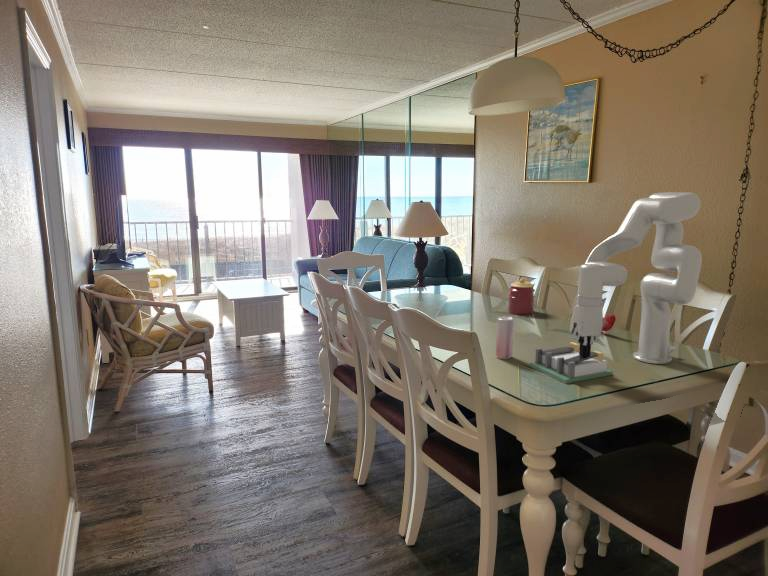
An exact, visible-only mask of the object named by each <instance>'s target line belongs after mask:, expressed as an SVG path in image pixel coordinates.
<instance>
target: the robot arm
mask: <svg viewBox="0 0 768 576" xmlns="http://www.w3.org/2000/svg"><path fill="white" fill-rule="evenodd" d="M700 210H701V199H700V197H699V196H698V194H696V193H694V192H690V191H689V192H687V191H686V192H681V191H680V192H678V191H675V192H673V191H672V192H669V191H664V192H656V193H652V194H650V195H649V197H642V198H639V199H637V200H635V202H633V204H632V205H631V207H630V208H629V211H628V212H627V214H626V215H625V217H624V219H623V220H622V222H621V224H620V225H619V227H618V229H617V231H616V232H615V233H613V235H610V236H609V237H607V238H606V239H604V240H603V241H602V242H600V243H599V244H598V245H596V246H595V247H594V248H593V249H592V250H591V252H590V253H589V256H588V257H587V258H586V261H585V263H583V264H581V265H580V267H579V272H578V284H577V297H576V304H575V305H574V307H573V310H572V313H571V318H570V324H569V325H570V326H569V334H571V335H572V337H571V339H572V340H575V341H577V344H579V355H581V356H584V357H590V351H591V352H592V350H591V349H592V345H593V344H594V341H595V340H596V339H598V338H600V337H601V335H602V334H601V332H602V326H603V316H604V314H603V313H604V312H603V305H602V302H603V300H604V299H603V291H604V287H619V286H621V285H623V284H624V283H626V280H627V278H628V271H627V269H626V267H624V266H623V265H621V264H619V263H613V262H607V261H608V260H609V259H610V258H611V257H613V256H615V255H616V254H620V253H622V252H625V251H626V252H627V251H629V250H632V249H636V248H638V247H639V246H640V245H641V244H642V243H643V241H644V239H645V238H646V235H647V234H648V232H649V230H650V229H651V227H652V225H655V228H656V229H655V230H656V233H655V238H654V243H653V247H652V252H651V258H650V259H651V260H650V261H651V262H650V263H651V265H652V267H654V268H655V269H658V270H661V271H667V272H668V271H669V272H676V273H677V275H672V274H669V273H668V274H666V273H657V272H653V273H647V274H646V275H645V276H644V277H643V278H642V279H641V282H640V284H639V285H640V295H641V316H640V326H639V337H638V338H639V339H638V349H637V351H634V352H633V353H632V357H633V358H634V360H635V359H636V360H638V361H639V362H643V363H649V364H655V365H667V364H670V363H672V360H673V358H672V357H671V355H670V354H671V353H675V352H676V351H677V348H676V347H675V346H669V343H670V341H669V340H670V331H671V320H672V310H671V307H670V304H676V305H681V306H682V305H683V306H684V305H688V304H689V303H691V302H692V300H693V299H694V296H695V295H696V290H697V286H698V284H699V283H698V282H699V277H700V272H701V268H702V263H703V262H702V261H703V256H702V253H701V251H700V250H699V248H698V247H696V246H695V245H688V244H683V238H684V230H685V229H684V226H683V223H682V221H683V222H684V221H686V220H689V219H692V218H693V217H694V216H696V215H697V214H698V213H699V211H700ZM669 303H670V304H669Z"/></svg>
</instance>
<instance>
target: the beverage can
mask: <svg viewBox="0 0 768 576" xmlns="http://www.w3.org/2000/svg"><path fill="white" fill-rule="evenodd" d="M495 332H496V336H495V337H496V338H495V356H496V358H497V357H498V358H497V359H499V358H502V359H501V360H510V359H511V358H512V357H513V339H514V318H513V317H511V316H498V317H497V319H496V331H495ZM509 358H510V359H509Z"/></svg>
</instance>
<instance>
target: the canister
mask: <svg viewBox="0 0 768 576" xmlns="http://www.w3.org/2000/svg"><path fill="white" fill-rule="evenodd" d="M533 287H534V284H532V283H531V281H530V282H529V281H526V280H525V278H523V277H521V278H520V279H519V281H518V280H517V281H513V282H512V283H511V284H510V288H508V291H509V293H508V295H507V296H508V305H507V310H508V313H509V314H514V315H521V316H522V315H523V316H525V315H532V314H533V313H534V312H535V298H536V296H535V295H534V294H535V291H536V289H535V288H533Z"/></svg>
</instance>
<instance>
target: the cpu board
mask: <svg viewBox="0 0 768 576" xmlns="http://www.w3.org/2000/svg"><path fill="white" fill-rule="evenodd" d="M568 347H570V348H573V349H574V351H572V352H567V353H561V354H555V355H552V353H551V352H548V353H545V355H543V354H541V351H543V348H542V347H540V348H539V347H538V348H536V349H535V361H534V362H531V363H529V367H530V368H531V369H534V370H536V371H538V372H539V373H543V374H545V375H547V376H549V377H551V378H552V379H555V380H556V381H559V382H561V383H563V384H570V383H575V382H580V381H587V380H592V379H597V378H602V377H603V378H604V377H607V376H612V375H614V374H613V372H614V371H612V370H610V369H608V368H607V360H605V359H604V353H603V352H602V351H599V350H591V352H593V353H596V354H598V356H597V357H594V358H591V359H588V360H585V361H582V362H579V363H576V364H575V362H568V365H567V364H564V363H563V360H566V359H569V358H572V357H575V356H578V355H579V349H580V344H579V343H578V342H577V343H576V342H574V341H571V342H568Z"/></svg>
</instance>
